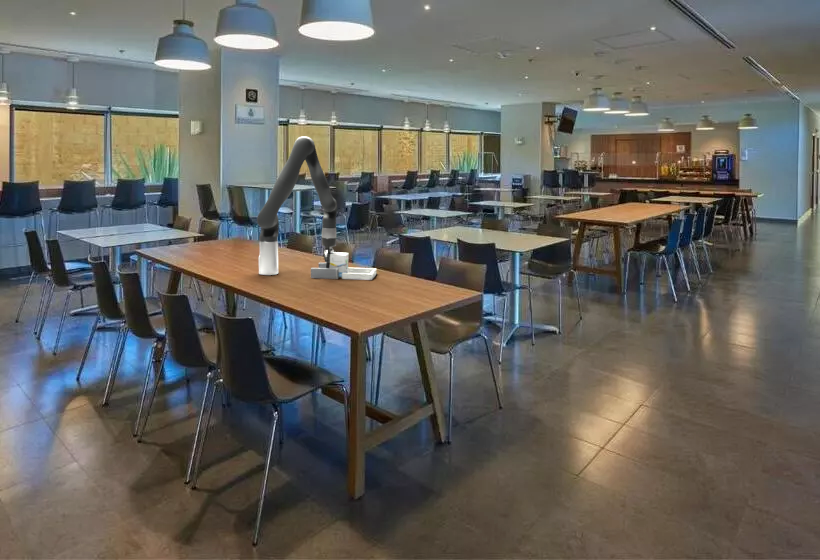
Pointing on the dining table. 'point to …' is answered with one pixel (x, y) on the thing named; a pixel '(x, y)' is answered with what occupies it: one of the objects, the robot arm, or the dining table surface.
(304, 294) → the dining table surface
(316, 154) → the robot arm
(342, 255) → the ink box
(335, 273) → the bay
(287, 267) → the dining table surface
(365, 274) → the tray frame
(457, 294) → the dining table surface
